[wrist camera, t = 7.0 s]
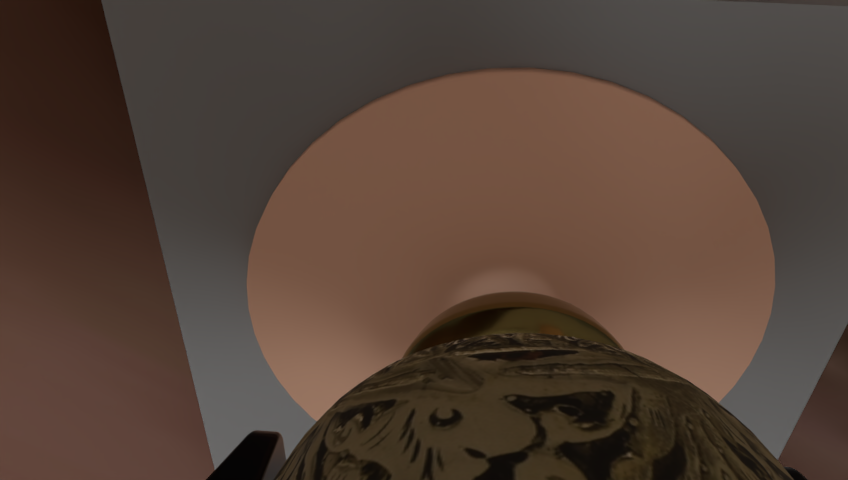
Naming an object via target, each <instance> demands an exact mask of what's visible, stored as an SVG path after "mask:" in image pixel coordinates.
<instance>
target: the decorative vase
mask: <svg viewBox="0 0 848 480" xmlns="http://www.w3.org/2000/svg"><path fill="white" fill-rule="evenodd" d="M273 480H794V479H793V478H792V477H791V476H790V474H789V473H788V472H787V471H786V470H785V468H784V467H783V466H782V465H781V464H780V462H779V461H778V460H777V459H776V458H775V457H774V456H773V455H772V453H771V452H770V451H769V450H768V449H767V448H766V447H765V446H764V445H763V443H762V442H761V441H760V440H759V439H758V438H757V437H756V436H755V434H754V433H753V432H752V431H751V430H750V429H748V428H747V427H746V426H745V425H744V424H743V423H742V422H741V421H740V420H738V419H737V418H736V417H735V416H734V415H733V414H732V413H730V412H729V411H728V410H727V409H726V408H724V407H723V406H722V405H721V404H719V403H718V402H717V401H716V400H715V399H713V398H712V397H711V396H710V395H708V394H707V393H705V392H704V391H703V390H701V389H700V388H698V387H697V386H695V385H694V384H692V383H691V382H689V381H688V380H686V379H684V378H682V377H680V376H679V375H677V374H675V373H673V372H671V371H669V370H667V369H665V368H663V367H662V366H660V365H658V364H656V363H654V362H652V361H650V360H648V359H646V358H644V357H641V356H639V355H636V354H634V353H631V352H629V351H626V350H624V348H623V347H622V345H621V344H620V343H619V342H618V341H617V340H616V339H615V338H614V336H613V335H612V334H611V333H610V332H609V331H608V330H607V329H606V328H604V327H603V326H602V325H601V324H600V323H599V322H598V321H596V320H595V319H594V318H593V317H591V316H590V315H589V314H587V313H586V312H584V311H583V310H581V309H580V308H578V307H576V306H574V305H572V304H570V303H568V302H565V301H563V300H560V299H557V298H554V297H551V296H547V295H543V294H538V293H531V292H515V291H509V292H497V293H491V294H485V295H481V296H477V297H473V298H471V299H468V300H465V301H462V302H460V303H458V304H456V305H454V306H452V307H450V308H449V309H447V310H445V311H444V312H442V313H441V314H439V315H438V316H437V317H435V318H434V319H433V320H432V321H431V322H430V323H429V324H428V325H427V326H426V327H425V328H424V329H423V330H422V331H421V332H420V333H419V334H418V336H417V337H416V338H415V339H414V341H413V342H412V343H411V344H410V346H409V347H408V349H407V350H406V352H405V353H404V355H403V357H402V358H401V359H400V360H398V361H396V362H393V363H391V364H390V365H388V366H386V367H385V368H383V369H381V370H380V371H378V372H376V373H374V374H373V375H371V376H370V377H368V378H367V379H365V380H364V381H362V382H361V383H359V384H358V385H357V386H355V387H354V388H353V389H351V390H350V391H349V392H347V393H346V394H345V395H343V396H342V397H341V398H340V399H339V400H338V401H337V402H336V403H335V404H334V405H333V406H332V407H331V408H330V409H329V410H327V411H326V412H325V414H324V415H323V416H322V417H321V418H320V419H319V420H318V421H317V422H316V423H315V424H314V425H313V426H312V427H311V428H310V429H309V430H308V431H307V433H306V434H305V435H304V436H303V438H302V439H301V440H300V442H299V443H298V444H297V446H296V447H295V448H294V450H293V451H292V453H291V454H290V456H289V457H288V459H287V460H286V462H285V463H284V465H283V466H282V468H281V469H280V470H279V472H278V473H277V475H276V476H275V478H274V479H273Z"/></svg>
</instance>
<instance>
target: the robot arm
mask: <svg viewBox="0 0 848 480" xmlns="http://www.w3.org/2000/svg"><path fill="white" fill-rule="evenodd" d="M285 462H286V456H285V449H284V442H283V437H282V435H281V434H280V433H279V432H276V431H261V430H255V431H252V432H250V433H249V434H248V435H247V436H246V437H245V438H244V439H243V440H242V441H241V442H240V444H239V445H238V446H237V447H236V448H235V449H234V450H233V451H232V452H231V453H230V454H229V455H228V456H227V458H226V459H225V460H224V461H223V462H222V463H221V464H220V465H219V466H218V467H217V468H216V469H215V471H214V472H213V473H212V474H211V475H210V476H209V477H208V478H207V479H206V480H273V479H274V478H275V476H276V475H277V473H278V472H279V470H280V469H281V468H282V466H283V465H284V463H285ZM784 468H785V470H786V471H787V472H788V473H789V474H790V476H791V477H792V478H793V479H794V480H807V479H806V478H805V477H804V476H803V475H802V474H801V473H800V472H798V471H797V470H795V469H793V468H790V467H784Z"/></svg>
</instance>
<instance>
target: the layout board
mask: <svg viewBox="0 0 848 480" xmlns="http://www.w3.org/2000/svg"><path fill="white" fill-rule="evenodd" d="M101 1H102V5H103V10H104V14H105V18H106V22H107V26H108V30H109V34H110V38H111V43H112V47H113V51H114V55H115V59H116V63H117V67H118V72H119V76H120V80H121V84H122V88H123V92H124V96H125V100H126V105H127V109H128V113H129V117H130V121H131V125H132V129H133V134H134V138H135V142H136V146H137V150H138V154H139V158H140V162H141V167H142V171H143V175H144V179H145V183H146V187H147V191H148V196H149V200H150V204H151V208H152V212H153V216H154V220H155V224H156V229H157V233H158V237H159V241H160V245H161V249H162V253H163V258H164V262H165V266H166V270H167V274H168V278H169V282H170V287H171V291H172V295H173V299H174V303H175V307H176V311H177V315H178V320H179V324H180V328H181V332H182V336H183V340H184V344H185V349H186V353H187V357H188V361H189V365H190V369H191V373H192V377H193V382H194V386H195V390H196V394H197V398H198V402H199V406H200V411H201V415H202V419H203V423H204V427H205V431H206V435H207V439H208V444H209V448H210V452H211V456H212V460H213V464H214V468H215V469H216V468H217V467H218V466H219V465H220V464H221V463H222V462H223V461H224V460H225V459H226V458H227V456H228V455H229V454H230V453H231V452H232V451H233V450H234V449H235V448H236V447H237V446H238V445H239V444H240V442H241V441H242V440H243V439H244V438H245V437H246V436H247V435H248V434H249V433H250V432H252V431H255V430H261V431H276V432H279V433H280V434H281V435H282V437H283V442H284V449H285V456H286V460H287V459H288V457H289V456H290V454H291V453H292V451H293V450H294V448H295V447H296V446H297V444H298V443H299V442H300V440H301V439H302V438H303V436H304V435H305V434H306V433H307V431H308V430H309V429H310V428H311V427H312V426H313V425H314V424H315V423H316V422H317V421H318V420H319V419H320V418H321V417H322V416H323V415H324V414H325V412H326V411H327V410H329V409H330V408H331V407H332V406H333V405H334V404H335V403H336V402H337V401H338V400H339V399H340V398H341V397H342V396H343V395H345V394H346V393H347V392H349V391H350V390H351V389H353V388H354V387H355V386H357V385H358V384H359V383H361V382H362V381H364V380H365V379H367V378H368V377H370V376H371V375H373V374H374V373H376V372H378V371H380V370H381V369H383V368H385V367H386V366H388V365H390V364H391V363H393V362H396V361H398V360H400V359H401V358H402V357H403V355H404V353H405V352H406V350H407V349H408V347H409V346H410V344H411V343H412V342H413V341H414V339H415V338H416V337H417V336H418V334H419V333H420V332H421V331H422V330H423V329H424V328H425V327H426V326H427V325H428V324H429V323H430V322H431V321H432V320H433V319H434V318H435V317H437V316H438V315H439V314H441V313H442V312H444V311H445V310H447V309H449V308H450V307H452V306H454V305H456V304H458V303H460V302H462V301H465V300H468V299H471V298H473V297H477V296H481V295H485V294H491V293H497V292H509V291H515V292H531V293H538V294H543V295H547V296H551V297H554V298H557V299H560V300H563V301H565V302H568V303H570V304H572V305H574V306H576V307H578V308H580V309H581V310H583V311H584V312H586V313H587V314H589V315H590V316H591V317H593V318H594V319H595V320H596V321H598V322H599V323H600V324H601V325H602V326H603V327H604V328H606V329H607V330H608V331H609V332H610V333H611V334H612V335H613V336H614V338H615V339H616V340H617V341H618V342H619V343H620V344H621V345H622V347H623V348H624V350H626V351H629V352H631V353H634V354H636V355H639V356H641V357H644V358H646V359H648V360H650V361H652V362H654V363H656V364H658V365H660V366H662V367H663V368H665V369H667V370H669V371H671V372H673V373H675V374H677V375H679V376H680V377H682V378H684V379H686V380H688V381H689V382H691V383H692V384H694V385H695V386H697V387H698V388H700V389H701V390H703V391H704V392H705V393H707V394H708V395H710V396H711V397H712V398H713V399H715V400H716V401H717V402H718V403H719V404H721V405H722V406H723V407H724V408H726V409H727V410H728V411H729V412H730V413H732V414H733V415H734V416H735V417H736V418H737V419H738V420H740V421H741V422H742V423H743V424H744V425H745V426H746V427H747V428H748V429H750V430H751V431H752V432H753V433H754V434H755V436H756V437H757V438H758V439H759V440H760V441H761V442H762V443H763V445H764V446H765V447H766V448H767V449H768V450H769V451H770V452H771V453H772V455H773V456H774V457H775V458H776V459H777V460H778V458H779V456H780V454H781V452H782V450H783V448H784V446H785V444H786V443H787V441H788V439H789V437H790V435H791V433H792V431H793V429H794V427H795V425H796V423H797V421H798V419H799V417H800V415H801V413H802V411H803V409H804V407H805V405H806V404H807V402H808V400H809V398H810V396H811V394H812V392H813V390H814V388H815V386H816V384H817V382H818V380H819V378H820V376H821V374H822V372H823V370H824V368H825V366H826V365H827V363H828V361H829V359H830V357H831V355H832V353H833V351H834V349H835V347H836V345H837V343H838V341H839V339H840V337H841V335H842V333H843V331H844V329H845V327H846V326H847V324H848V0H101Z"/></svg>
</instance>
